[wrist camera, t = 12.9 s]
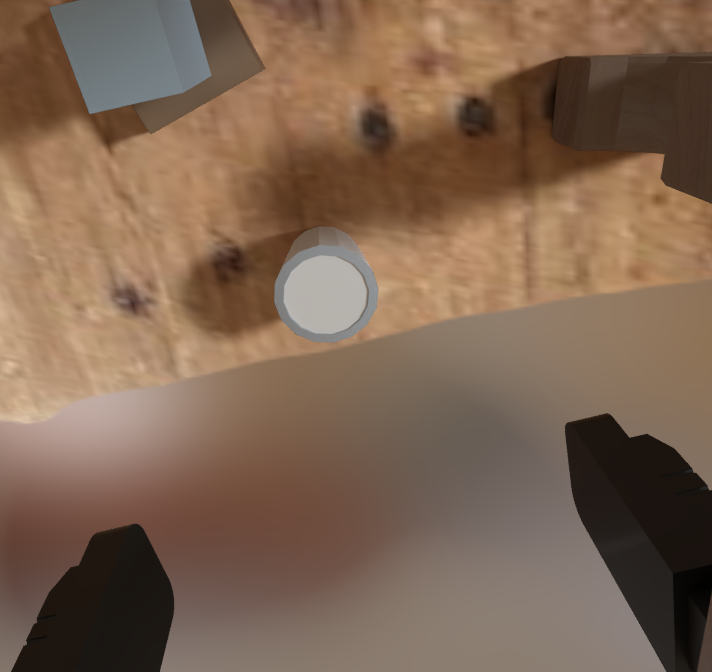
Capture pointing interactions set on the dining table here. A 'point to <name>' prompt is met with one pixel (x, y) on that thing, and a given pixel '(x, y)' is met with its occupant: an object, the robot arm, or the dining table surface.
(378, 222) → the dining table surface
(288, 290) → the white short cylinder
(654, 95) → the decorative block
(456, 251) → the dining table surface
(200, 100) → the walnut plinth
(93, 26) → the blue pillar
